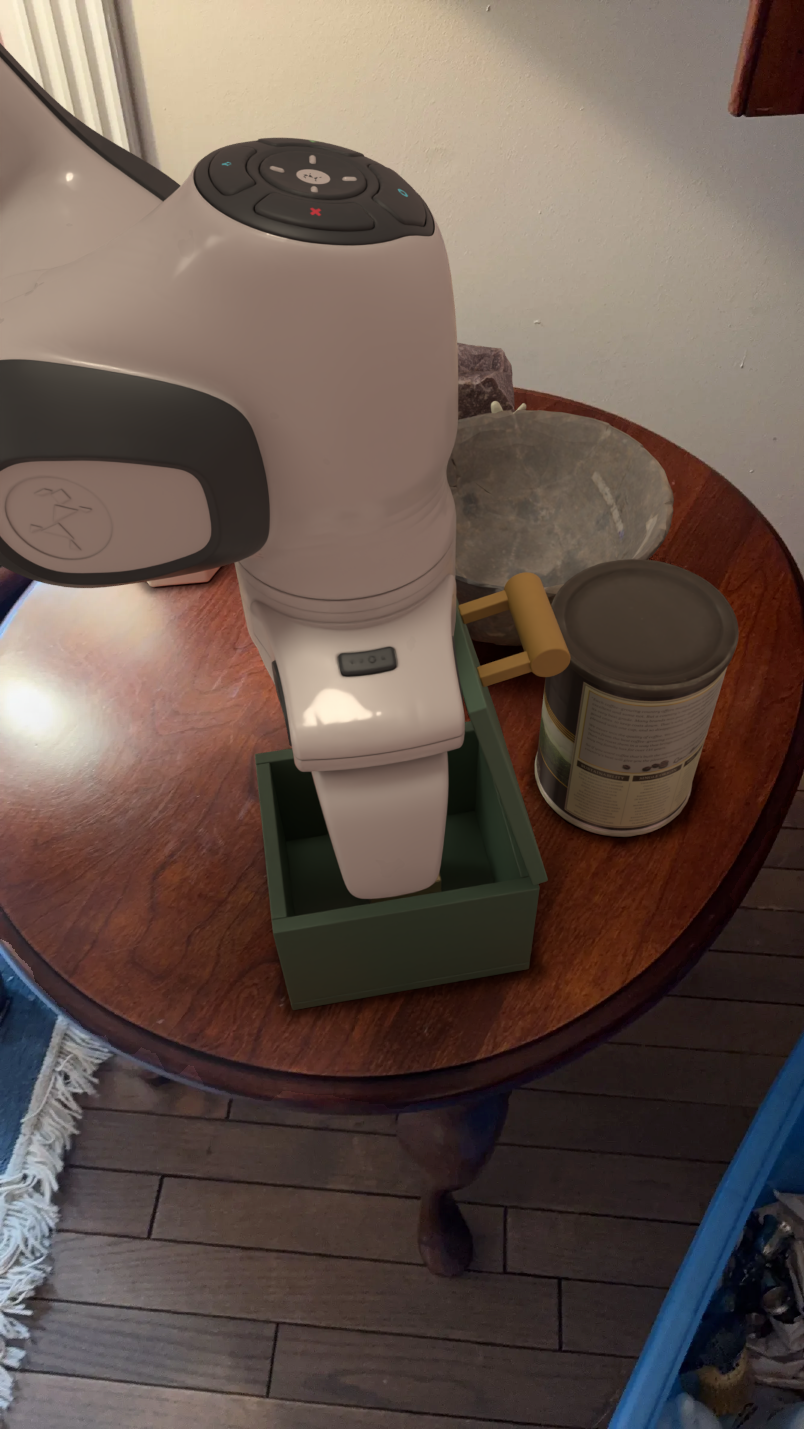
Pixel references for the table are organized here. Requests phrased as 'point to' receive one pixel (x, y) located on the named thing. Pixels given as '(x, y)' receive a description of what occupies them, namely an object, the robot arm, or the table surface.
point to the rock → (483, 380)
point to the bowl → (548, 504)
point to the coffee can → (631, 694)
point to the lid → (539, 656)
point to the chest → (403, 932)
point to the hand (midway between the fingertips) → (365, 782)
